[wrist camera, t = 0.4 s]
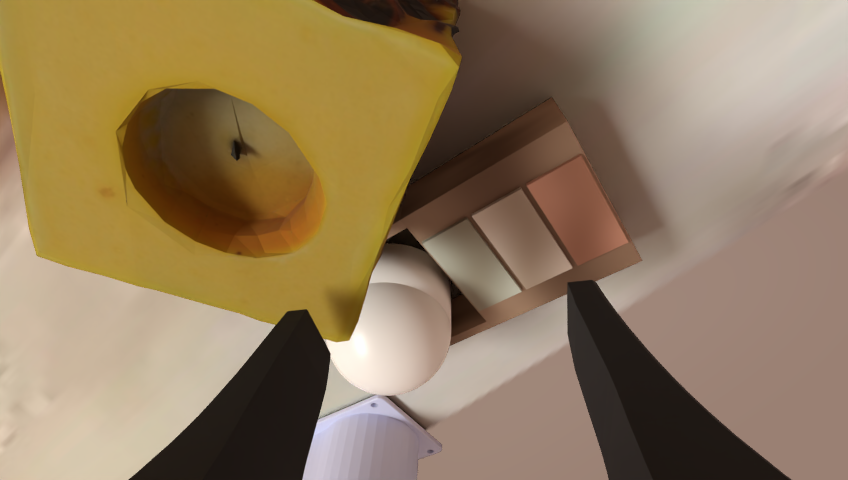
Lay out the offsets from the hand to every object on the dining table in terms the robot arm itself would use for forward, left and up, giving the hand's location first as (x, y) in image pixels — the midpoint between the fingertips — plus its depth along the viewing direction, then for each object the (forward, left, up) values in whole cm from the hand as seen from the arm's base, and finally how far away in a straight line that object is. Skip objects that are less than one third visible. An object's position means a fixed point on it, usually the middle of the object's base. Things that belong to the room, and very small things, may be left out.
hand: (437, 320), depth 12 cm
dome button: (-6, -4, -9) cm, 12 cm away
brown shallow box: (-2, -4, -11) cm, 12 cm away
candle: (-2, +7, -11) cm, 13 cm away
